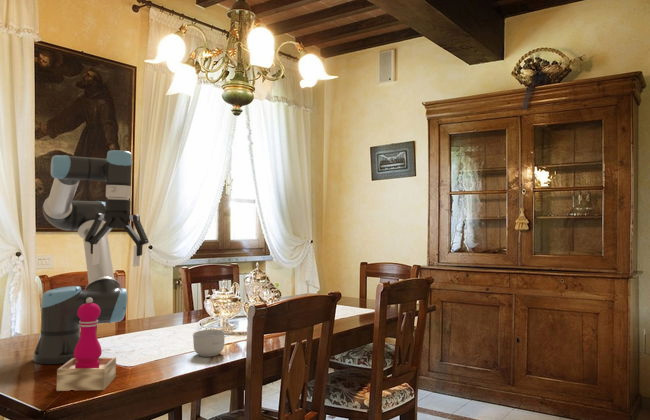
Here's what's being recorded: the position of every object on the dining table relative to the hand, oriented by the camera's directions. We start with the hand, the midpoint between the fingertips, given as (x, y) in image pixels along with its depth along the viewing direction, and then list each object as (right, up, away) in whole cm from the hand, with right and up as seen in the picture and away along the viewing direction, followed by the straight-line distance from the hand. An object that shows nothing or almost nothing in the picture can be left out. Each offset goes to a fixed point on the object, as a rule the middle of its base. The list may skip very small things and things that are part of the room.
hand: (115, 265), depth 171 cm
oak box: (0, -31, -20) cm, 37 cm away
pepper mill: (0, -27, -20) cm, 34 cm away
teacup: (+27, -33, +17) cm, 45 cm away
